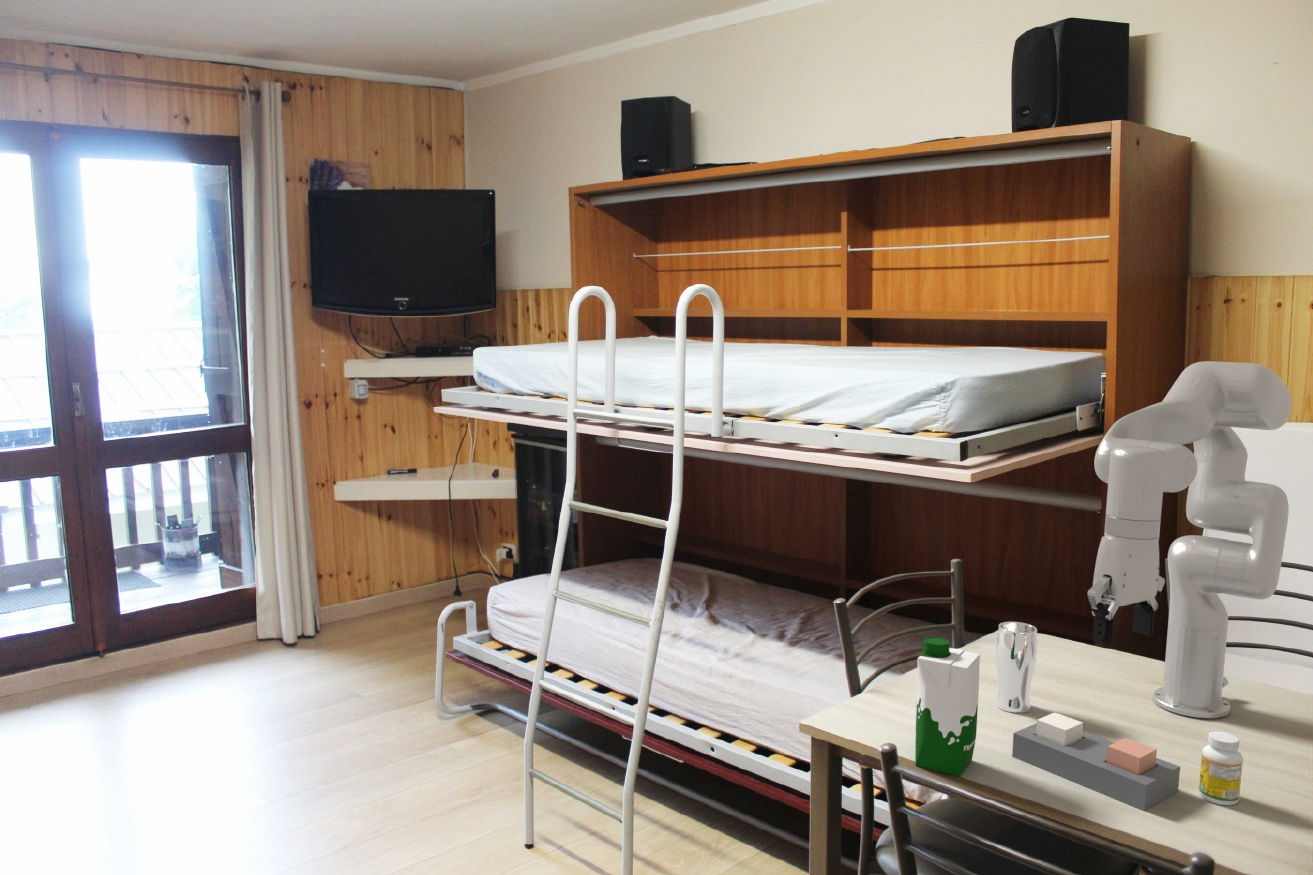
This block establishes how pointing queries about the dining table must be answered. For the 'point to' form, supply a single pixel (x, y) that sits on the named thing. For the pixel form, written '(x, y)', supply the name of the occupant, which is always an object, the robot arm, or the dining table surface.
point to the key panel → (1097, 768)
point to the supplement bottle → (1221, 769)
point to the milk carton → (946, 707)
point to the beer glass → (1015, 665)
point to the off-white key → (1059, 729)
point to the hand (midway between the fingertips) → (1122, 638)
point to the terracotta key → (1131, 756)
